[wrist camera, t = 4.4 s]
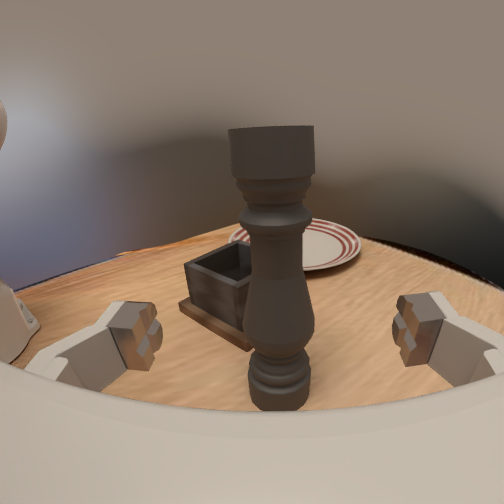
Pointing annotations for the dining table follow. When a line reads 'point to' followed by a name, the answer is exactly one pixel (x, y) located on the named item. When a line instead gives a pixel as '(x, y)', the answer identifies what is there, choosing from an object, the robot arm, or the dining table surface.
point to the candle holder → (276, 259)
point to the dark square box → (220, 291)
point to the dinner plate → (320, 244)
